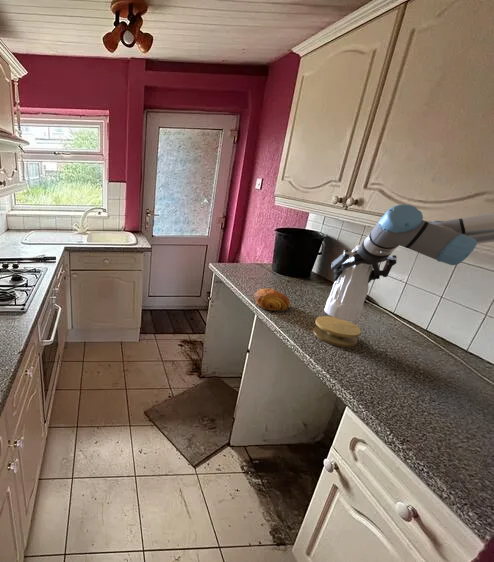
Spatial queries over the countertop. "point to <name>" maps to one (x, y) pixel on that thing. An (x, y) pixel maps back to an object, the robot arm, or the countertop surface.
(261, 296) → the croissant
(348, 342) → the stand
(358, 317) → the decorative vase
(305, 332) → the countertop surface
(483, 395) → the countertop surface
